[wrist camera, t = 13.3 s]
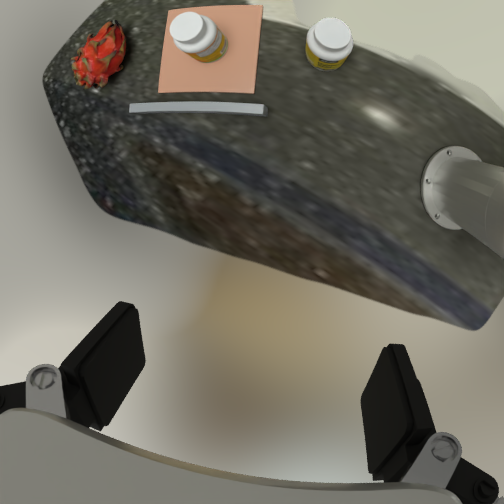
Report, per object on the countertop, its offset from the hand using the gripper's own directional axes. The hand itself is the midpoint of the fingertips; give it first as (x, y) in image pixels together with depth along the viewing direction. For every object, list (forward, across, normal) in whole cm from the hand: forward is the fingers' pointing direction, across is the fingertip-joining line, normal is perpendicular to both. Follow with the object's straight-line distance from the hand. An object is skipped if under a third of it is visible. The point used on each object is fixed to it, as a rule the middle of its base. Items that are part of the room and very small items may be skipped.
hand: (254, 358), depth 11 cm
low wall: (+33, +13, -10) cm, 37 cm away
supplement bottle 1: (+33, +13, -20) cm, 41 cm away
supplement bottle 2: (+34, -3, -20) cm, 39 cm away
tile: (+33, +13, -20) cm, 41 cm away
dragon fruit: (+34, +29, -20) cm, 49 cm away
